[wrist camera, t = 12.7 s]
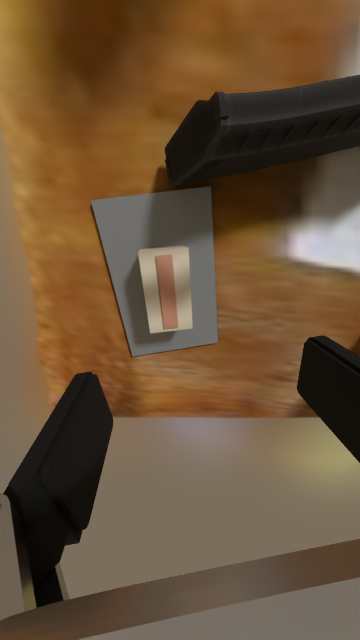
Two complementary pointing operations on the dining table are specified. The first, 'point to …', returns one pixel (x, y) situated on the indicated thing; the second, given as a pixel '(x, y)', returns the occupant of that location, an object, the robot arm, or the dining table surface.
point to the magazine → (264, 129)
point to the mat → (151, 232)
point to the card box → (167, 287)
